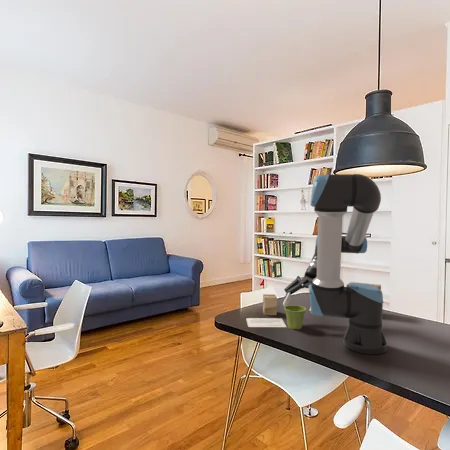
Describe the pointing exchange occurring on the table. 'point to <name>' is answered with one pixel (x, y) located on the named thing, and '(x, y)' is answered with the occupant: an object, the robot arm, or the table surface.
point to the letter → (265, 322)
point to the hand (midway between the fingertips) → (297, 309)
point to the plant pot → (294, 316)
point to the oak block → (269, 304)
